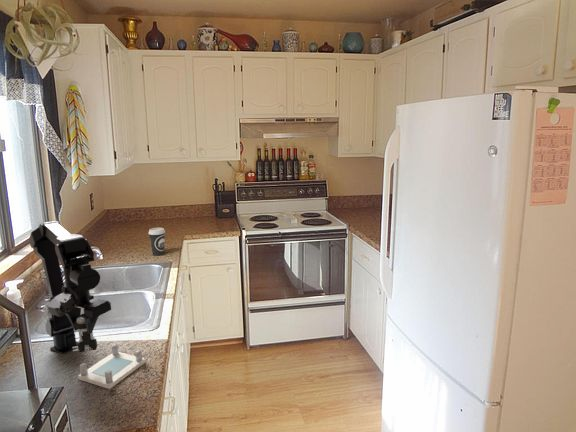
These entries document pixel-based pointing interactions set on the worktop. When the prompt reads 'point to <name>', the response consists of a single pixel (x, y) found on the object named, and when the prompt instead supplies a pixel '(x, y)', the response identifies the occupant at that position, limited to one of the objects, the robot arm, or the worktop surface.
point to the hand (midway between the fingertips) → (83, 331)
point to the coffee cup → (157, 241)
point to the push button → (84, 337)
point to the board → (111, 368)
